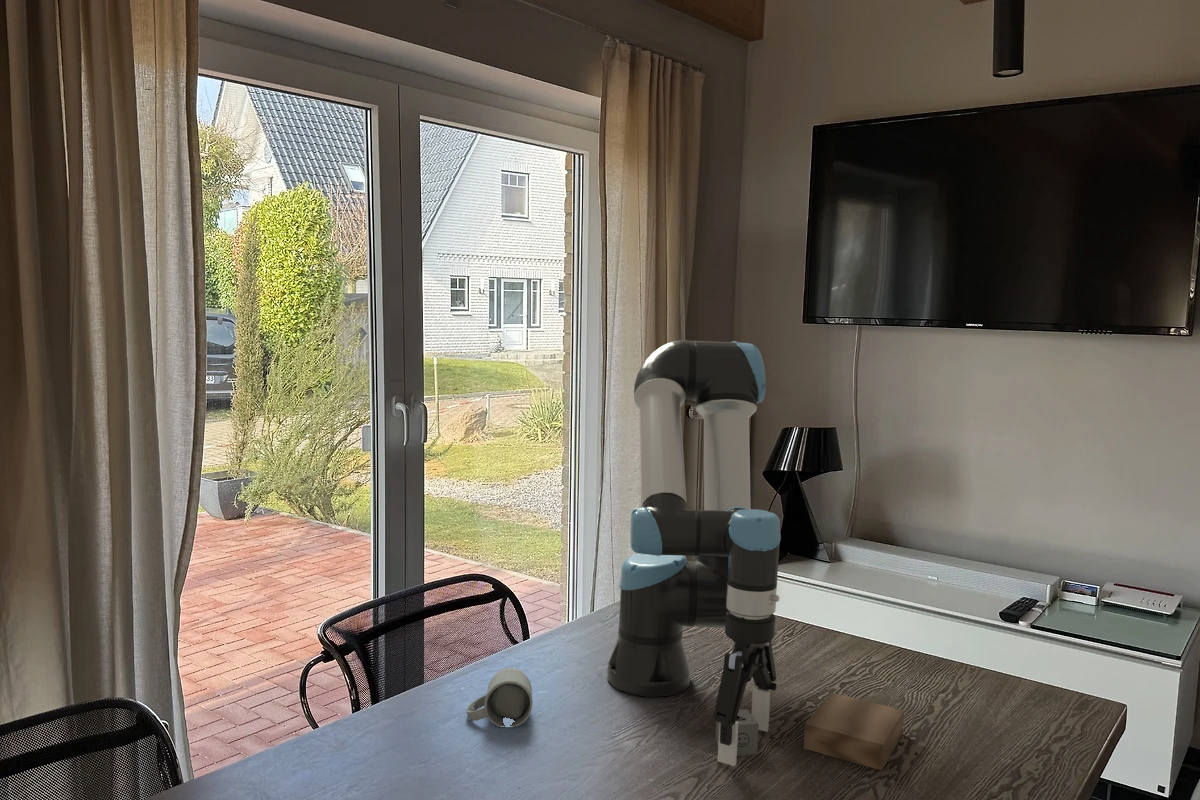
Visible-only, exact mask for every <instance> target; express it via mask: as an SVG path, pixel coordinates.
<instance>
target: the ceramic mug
mask: <svg viewBox="0 0 1200 800" xmlns="http://www.w3.org/2000/svg"><path fill="white" fill-rule="evenodd" d="M487 687H488V688H487V690H486V694H485V695H482V696H480V697H478V698H477V699H475V700H473V701H472V702H471V703H470V704H469V705H468V706H467V708H466V714H467V716H468V718H470V719H471V720H470V719H469V720H470V721H480V720H483V719H486V718H487V719H488V720H489V721H490V722H491V723H492V724H493V725H495V726H497V727H499V728H501V727H500V726H504V727H505V725H504V723H503V718H505V717H506V718H510V719H513V720H514V721H515V722H513V723H512V725H510V726H513V727H514V728H516V727H515V726H517V727H519V726H521V725H522V724H524V723H525V722H526V721H527V720H528V718H529V716H530V715H531V714H532V710H533V691H532V690H533V689H532V687H533V686H532V683H531V681H530V679H529V677H528V676H527V674H525V673H524V672H523V671H522V670H520V669H518V668H514V667H508V668H503V669H501V670H499V671H498V672H496V673H495V674H494V675H493V676H492V678H491V679H490V681H489V682H488V686H487Z"/></svg>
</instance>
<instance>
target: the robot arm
mask: <svg viewBox="0 0 1200 800" xmlns="http://www.w3.org/2000/svg"><path fill="white" fill-rule="evenodd" d="M764 363H765V362H764V360H763V357H762V353H761V351H760V350H759V348H758V347H757V346H756V345H755V344H753V343H749V342H748V343H747V342H738V341H736V340H733V341H712V340H711V341H709V340H687V339H681V340H673V341H670V342H668V343H665V344H663V345H661V346H660V347H658V348H657V349H656V350H654V351H653V352H652V353H650V355H649V356H648V357H647V358H646V359H645V361H644V362H643V364H641V366H640V369H639V370H638V372H637V375H636V378H635V382H634V386H633V387H634V389H633V399H634V403H635V405H636V407H637V408H638V410H639V428H640V429H639V430H640V432H639V433H640V436H639V437H640V476H641V477H640V478H641V485H640V486H641V507H634V508H633V509H632V510H631V514H630V537H629V538H630V541H629V542H630V543H629V544H630V548H631V550H632V551H633V552H634V553H635V554H633V555H631V556H629V557H628V558H626V559H625V560H624V561H623V563H622V565H621V570H620V571H621V572H620V581H619V583H618V587H619V589H620V592H619V593H620V594H619V595H620V596H619V611H618V614H619V615H618V631H617V633H618V636H617V639H616V642H615V645H614V648H613V650H612V652H611V655H610V658H609V661H608V663H607V668H606V669H607V671H606V674H607V675H606V679H608V680H607V681H609V682H610V683H611V684H612V685H613V686H614V687H613V686H612V685H611V684H610V683H609V682H608V683H609V684H610V685H611V686H612V687H613V688H615V687H616V688H615V689H617V688H618V689H617V690H618V691H621V690H622V691H621V692H623V691H624V693H626V692H627V693H626V694H629V695H633V696H640V697H642V696H643V697H653V698H654V697H666V696H668V697H669V696H673V695H676V694H678V693H682V692H684V691H685V690H687V689H688V687H690V685H691V668H690V663H689V660H688V656H687V652H686V649H685V646H684V642H683V632H684V631H683V629H684V628H685V627H686V628H687V627H689V628H690V627H692V628H693V627H694V628H713V629H714V628H715V629H716V628H717V629H718V628H721V629H724V633H725V635H726V637H728V638H729V639H731V640H732V641H733V643H734V647H733V649H732V652H731V653H729V652H725V654H724V659H723V660H724V661H723V670H722V675H721V679H720V683H719V689H718V693H717V696H716V697H717V698H716V702H715V706H714V711H713V714H712V721H713V722H719V740H718V744H717V762H719V763H722V764H725V765H729V766H733V767H735V766H736V765H737V741H738V722H736V718H737V715H738V712H739V710H740V708H741V704H742V700H743V697H744V694H745V691H746V688H747V685H748V683H749V682H751V681H752V679H753V682H754V685H755V687H753V688H752V695H751V696H752V697H751V713H750V714H751V715H752V716H753V717H754V719H755V720H756V721H757V722H758V724H759V726H758V731H762V732H765V733H766V732H768V731H769V723H770V704H771V691H776V690H777V686H778V685H777V683H775V682H776V680H777V673H776V666H775V661H774V652H773V645H772V641H773V640H774V638H775V633H776V632H775V631H776V630H775V629H776V616H775V612H776V606H777V605H776V604H777V602H779V601H780V596H779V595H778V594H777V591H778V590H777V589H778V588H777V587H778V573H779V555H780V542H781V540H782V535H781V529H780V528H781V526H780V525H781V523H780V522H781V520H780V517H779V516H778V515H777V514H776V513H774V512H770V511H768V510H763V509H756V508H755V509H754V508H753V509H752V507H751V502H752V501H751V457H750V454H751V453H750V451H751V450H750V418H751V417H752V416H753V415H754V414H755V413H756V412H757V410H758V407H757V406H758V404H761V403H763V401H764V400H765V395H766V389H767V388H766V380H767V379H766V371H765V364H764ZM685 401H693V402H695V411H696V413H697V414H699V415H700V417H702V418H703V466H704V467H703V471H704V472H703V478H704V479H703V484H704V486H703V487H704V488H703V489H704V491H703V493H704V494H703V495H704V496H703V499H704V501H703V508H704V509H690V508H689V509H688V506H687V505H688V504H687V503H688V502H687V489H686V488H687V485H686V472H685V459H684V443H683V442H684V441H683V426H682V411H681V408H682V407H683V405H684V403H685ZM688 556H693V557H695V560H688V558H687V557H688Z"/></svg>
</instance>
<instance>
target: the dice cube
mask: <svg viewBox="0 0 1200 800" xmlns="http://www.w3.org/2000/svg"><path fill="white" fill-rule="evenodd" d="M751 714H752V713H751V712H750V710H748V709H747V708H745V709H739V712H738V715H737V718H736V722H738V741H737V756H738V757H739V756H750V755H751V756H752V755H758V741H759V740H758V739H759V730H758V726H759V724H758V722H757V721H756V720H755V719H754V717H753V716H752V715H751ZM715 722H716V721H715ZM714 740H715V743H716V744H717V745H718V740H719V722H716V724H715V739H714Z"/></svg>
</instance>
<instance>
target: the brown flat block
mask: <svg viewBox="0 0 1200 800" xmlns="http://www.w3.org/2000/svg"><path fill="white" fill-rule="evenodd" d="M904 718H905V710H903V709H900V708H896V707H892V706H887V705H883V704H880V703H876V702H871V701H868V700H867V701H866V700H863V699H859V698H856V697H852V696H847V695H843V694H840V693H835V692H832V691H831V692H830V693H829V694H828V695H827V697H826V698H825V699H824V700H823V701H822V703H821V704H820V705H819V706H818V707H817V709H816V710H815V711H814V712H813V714H812V715H811V716H809V718H808V719H807V721H806V722H805V723H804V733H803V734H804V735H803V736H804V737H803V749H805V750H807V751H812V752H816V753H818V754H823V755H825V756H830V757H833V758H837V759H840V760H843V761H847V762H851V763H854V764H858V765H861V766H864V767H868V768H871V769H874V770H878V771H882V770H883V769H884V767H885V766H886V764H887V763H888V760H889V758H890V757H891V755H892V753H893V752H894V750H895V749H896V746H897V744H898V743H899V741H900V739H901V738H902V736H903V731H904V720H905V719H904Z"/></svg>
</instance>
